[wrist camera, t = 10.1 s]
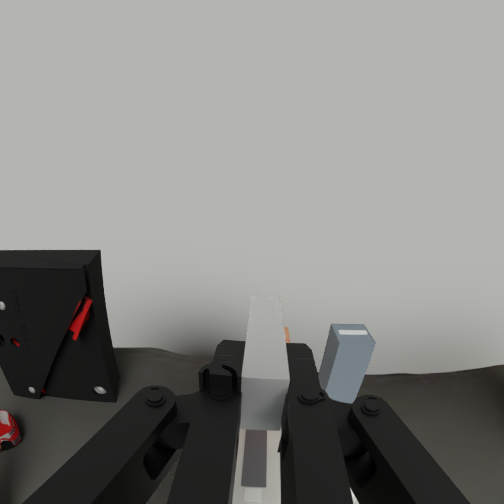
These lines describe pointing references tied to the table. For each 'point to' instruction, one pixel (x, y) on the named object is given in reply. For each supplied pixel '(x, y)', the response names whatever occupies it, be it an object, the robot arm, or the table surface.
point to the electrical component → (56, 325)
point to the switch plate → (259, 468)
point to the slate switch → (345, 361)
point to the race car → (8, 431)
